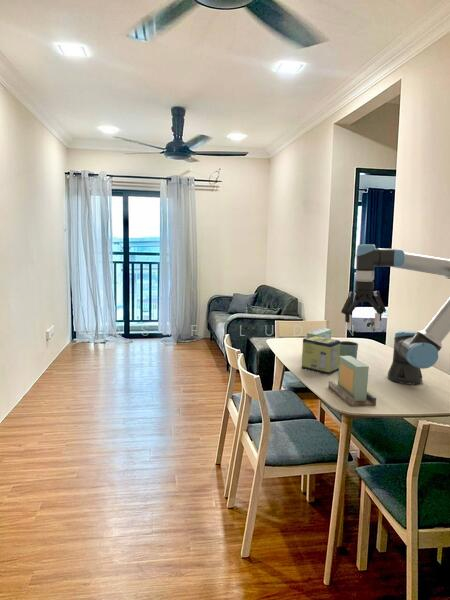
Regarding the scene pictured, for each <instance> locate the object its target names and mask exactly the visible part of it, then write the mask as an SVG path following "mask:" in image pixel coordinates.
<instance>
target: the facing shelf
mask: <svg viewBox="0 0 450 600" xmlns="http://www.w3.org/2000/svg"><path fill="white" fill-rule="evenodd" d="M328 388H329V389H330V390H331V392H333V393H334V392H335V394H336V395H337V396H338V397H339V399H341V400H342V401H344V402H345V403H346V404H347V405H348V406H350V407H370V406H371V407H374V406H375V407H376V405H377V398H376V397H375V396H374V395H373V394H371V393H370V392H368V391H367V397H366V401H354V398H352V397H351V396H350V395H349V394H347V393H346V392H345V391H344V390H342V389H341V388H340V387H339V386H338V384H336V383H335V382H334V381H332V380H329V381H328Z"/></svg>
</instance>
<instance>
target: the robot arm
mask: <svg viewBox="0 0 450 600" xmlns="http://www.w3.org/2000/svg"><path fill="white" fill-rule="evenodd" d="M355 256H356V257H355V258H356V267H355V268H356V269H355V280H356V281H355V285H354V286H355V292H353V291H349V292H348V293H347V294H348V295H347V298H346V299H345V300H346V301H345V303H344V305H343V307H342V309H341V314H343V315H345V318H344V319H345V322H346V330H348V331H352V325H353V324H352V322H353V321H352V320H353V319H352V318H353V315H352V313H353V311H354V310H355V308H357V306H359V304H360V303H365V302H366V303H369V304H370V305H371V307H372V308H373V310H375V312H374V328H375V329H380V327H381V325H380V324H381V323H380V322H382V316H383V314H384V313H386V311H387V310H386V309H387V308H386V307H385V304H384V302H383V299H382V297H381V291H380V290H375V291H374V288H375V286H374V285H375V282H374V280H375V267H388V268H389V267H391V268H397V269H402V270H408V271H414V272H420V273H427V274H431V275H438V276H444V277H445V278H446V279H448V280H450V258H449V259H448V258H442V257H436V256H430V255H423V254H417V253H410V252H406V251H404V249H402V248H380V247H378V248H376V245H375V244H371V243H370V244H366V243H365V244H363V243H362V244H358V245H357V246H356V254H355ZM373 296H374V298H375V299H374V298H373ZM449 333H450V296H449V297H448V298H447V300H446V301H445V302H444V304H443V305H442V306H441V307H440V308H439V310H438V311H437V313H436V314H435V315H434V316H433V318H431V320H430V321H429V322H428V324H427V325H426V326H425V328H424V329H423V330H421V329H420V330H418V331H411V330H410V331H409V330H408V331H407V330H400V331H399V330H398V331H395V333H394V338H393V342H394V343H393V354H392V362H391V365H390V367H389V369H388V370H387V379H388V380H390V381H392V382H395V383H399V384H403V385H404V384H405V385H419V384H423V383H422V382H423V374H422V371H421V369H423V370H424V369H429V368H432V366H434V365H436V363H437V362H438V359H439V352H440V351H441V349H442V348H443V345H442V342H443V340H444V339H445V338H446V337H447V336H448V334H449Z"/></svg>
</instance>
